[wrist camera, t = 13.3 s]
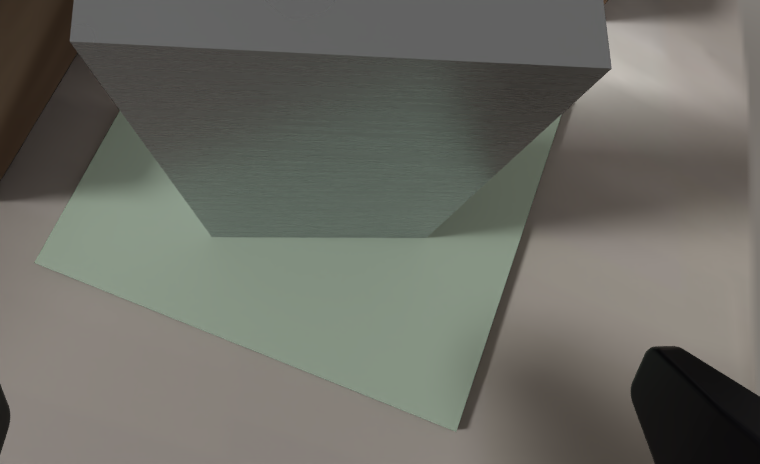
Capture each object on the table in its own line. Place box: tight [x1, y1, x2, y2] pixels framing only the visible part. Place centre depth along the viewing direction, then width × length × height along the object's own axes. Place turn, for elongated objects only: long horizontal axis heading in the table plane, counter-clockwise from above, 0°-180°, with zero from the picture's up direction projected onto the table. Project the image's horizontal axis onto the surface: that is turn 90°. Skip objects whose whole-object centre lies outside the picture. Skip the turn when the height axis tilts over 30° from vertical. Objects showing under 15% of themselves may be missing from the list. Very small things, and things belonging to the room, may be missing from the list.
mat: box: [34, 111, 562, 432], centre depth 17 cm, size 12×12×1 cm
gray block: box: [70, 0, 612, 238], centre depth 12 cm, size 7×6×10 cm
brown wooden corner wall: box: [0, 0, 608, 180], centre depth 15 cm, size 16×14×4 cm
